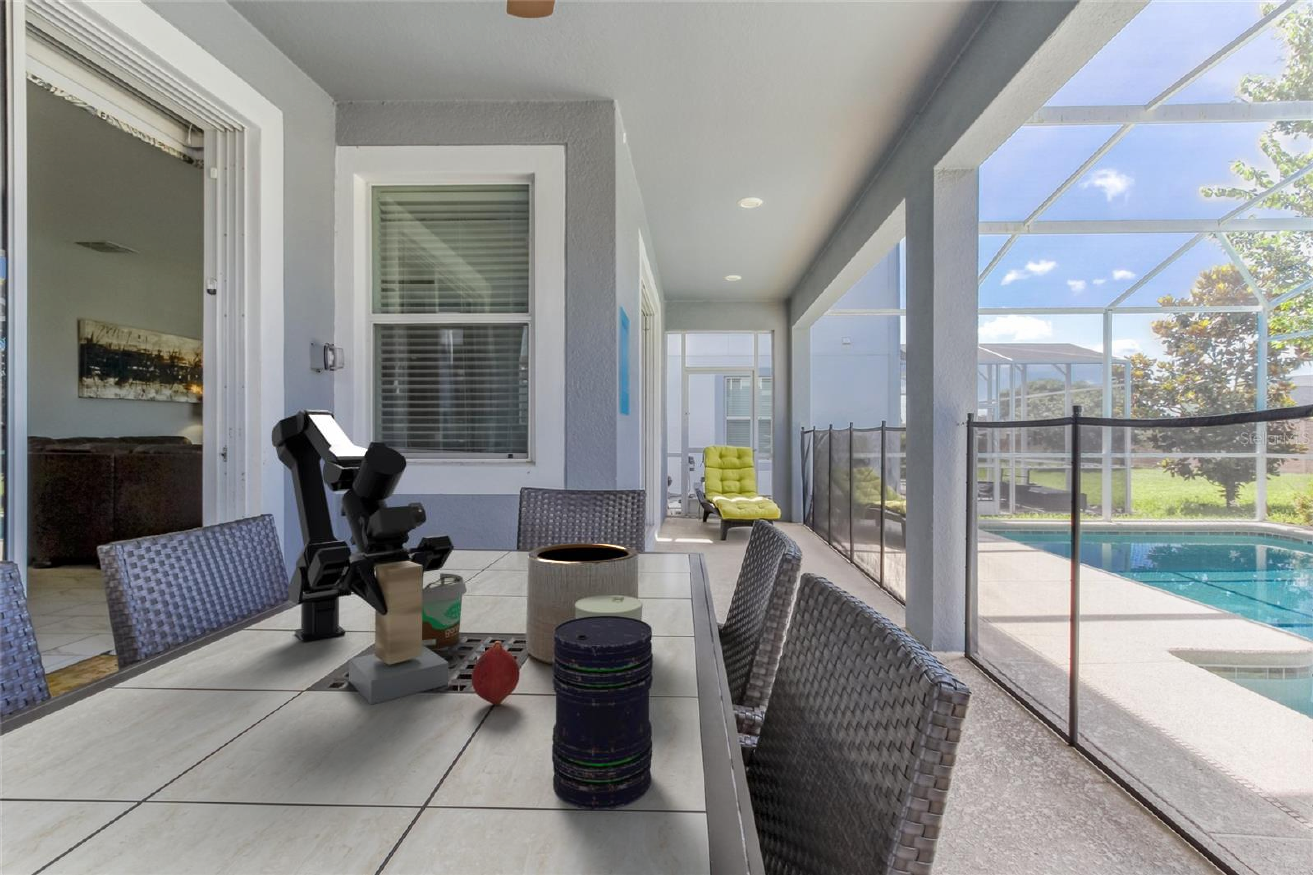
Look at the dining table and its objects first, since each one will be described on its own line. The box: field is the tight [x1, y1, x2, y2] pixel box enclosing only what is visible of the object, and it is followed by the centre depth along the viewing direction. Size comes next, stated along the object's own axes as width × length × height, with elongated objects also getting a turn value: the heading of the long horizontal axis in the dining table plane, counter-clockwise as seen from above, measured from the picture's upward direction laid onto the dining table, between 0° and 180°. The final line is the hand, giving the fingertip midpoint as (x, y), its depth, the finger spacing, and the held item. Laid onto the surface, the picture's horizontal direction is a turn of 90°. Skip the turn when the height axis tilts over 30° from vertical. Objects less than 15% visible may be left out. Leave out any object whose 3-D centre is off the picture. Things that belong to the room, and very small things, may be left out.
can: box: [575, 595, 644, 621], centre depth 85 cm, size 9×9×12 cm
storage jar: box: [551, 616, 654, 811], centre depth 62 cm, size 10×10×15 cm
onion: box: [470, 640, 521, 706], centre depth 79 cm, size 6×6×8 cm
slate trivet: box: [348, 645, 450, 705], centre depth 86 cm, size 10×10×3 cm
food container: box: [422, 572, 467, 651], centre depth 104 cm, size 12×6×10 cm, turn 179°
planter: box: [525, 542, 639, 666], centre depth 100 cm, size 18×18×16 cm
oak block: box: [374, 561, 424, 665], centre depth 86 cm, size 4×4×12 cm
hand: (403, 610), depth 85 cm, fingers closed on oak block, 4 cm apart
